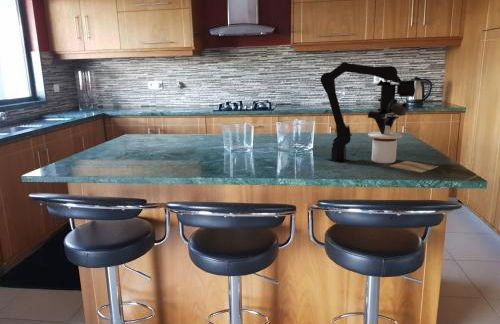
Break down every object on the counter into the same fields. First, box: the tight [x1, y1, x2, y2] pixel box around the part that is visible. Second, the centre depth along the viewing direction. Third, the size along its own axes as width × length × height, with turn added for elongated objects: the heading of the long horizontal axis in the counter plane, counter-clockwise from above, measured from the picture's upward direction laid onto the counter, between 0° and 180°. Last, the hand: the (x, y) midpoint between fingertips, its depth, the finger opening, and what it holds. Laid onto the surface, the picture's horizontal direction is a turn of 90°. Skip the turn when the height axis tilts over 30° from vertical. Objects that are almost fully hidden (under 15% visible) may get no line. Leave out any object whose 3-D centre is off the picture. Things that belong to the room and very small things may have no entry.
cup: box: [371, 138, 398, 164], centre depth 170 cm, size 10×10×10 cm
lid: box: [367, 126, 404, 140], centre depth 168 cm, size 14×14×4 cm
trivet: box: [389, 160, 439, 174], centre depth 160 cm, size 14×14×1 cm
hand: (385, 133), depth 168 cm, fingers closed on lid, 4 cm apart
